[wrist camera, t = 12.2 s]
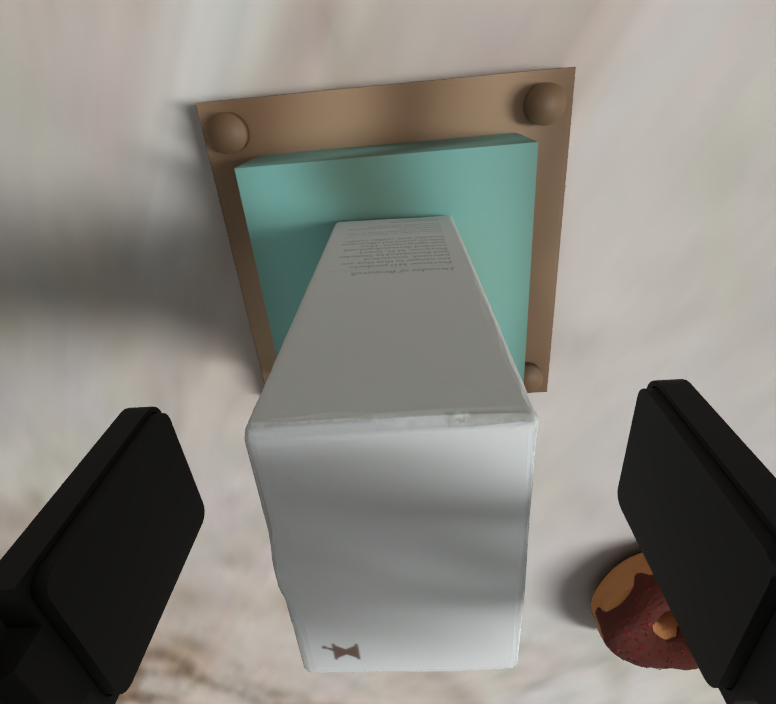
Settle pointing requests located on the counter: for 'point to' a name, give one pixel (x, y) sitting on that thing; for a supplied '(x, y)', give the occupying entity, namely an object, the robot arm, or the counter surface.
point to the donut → (639, 618)
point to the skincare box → (397, 459)
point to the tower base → (404, 122)
